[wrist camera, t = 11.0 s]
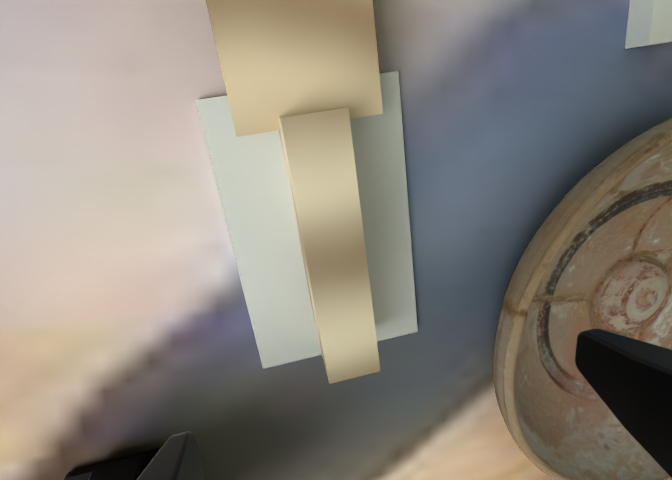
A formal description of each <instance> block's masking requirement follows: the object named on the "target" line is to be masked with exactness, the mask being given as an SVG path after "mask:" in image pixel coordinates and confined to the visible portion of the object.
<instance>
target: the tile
mask: <svg viewBox="0 0 672 480" xmlns="http://www.w3.org/2000/svg"><path fill="white" fill-rule="evenodd" d="M666 42H672V0H630V6H629V15H628V24H627V34H626V43H625V49H627V48H634V47H641V46H648V45H654V44H660V43H666Z"/></svg>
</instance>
